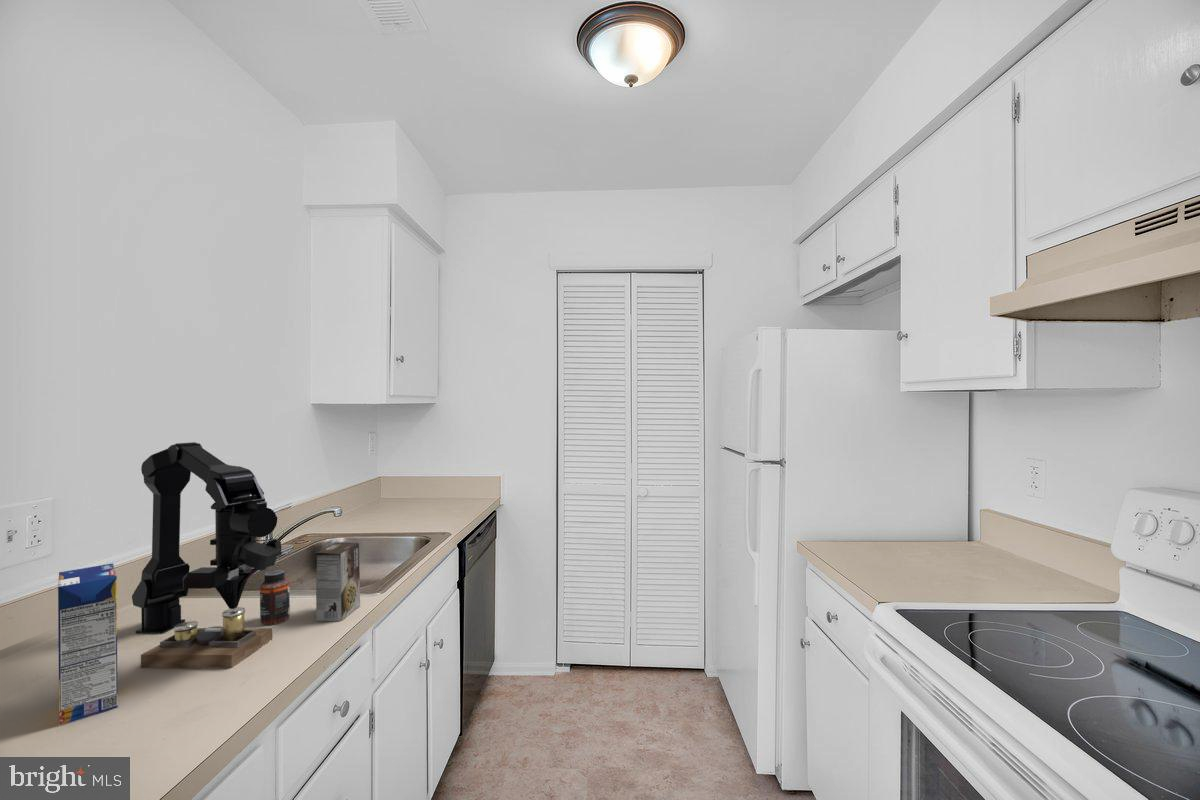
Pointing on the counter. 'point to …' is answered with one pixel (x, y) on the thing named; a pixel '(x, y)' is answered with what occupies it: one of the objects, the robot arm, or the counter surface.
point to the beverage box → (87, 642)
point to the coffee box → (337, 581)
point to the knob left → (186, 631)
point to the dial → (208, 634)
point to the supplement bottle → (274, 598)
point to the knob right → (233, 624)
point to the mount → (205, 651)
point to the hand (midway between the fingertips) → (233, 608)
